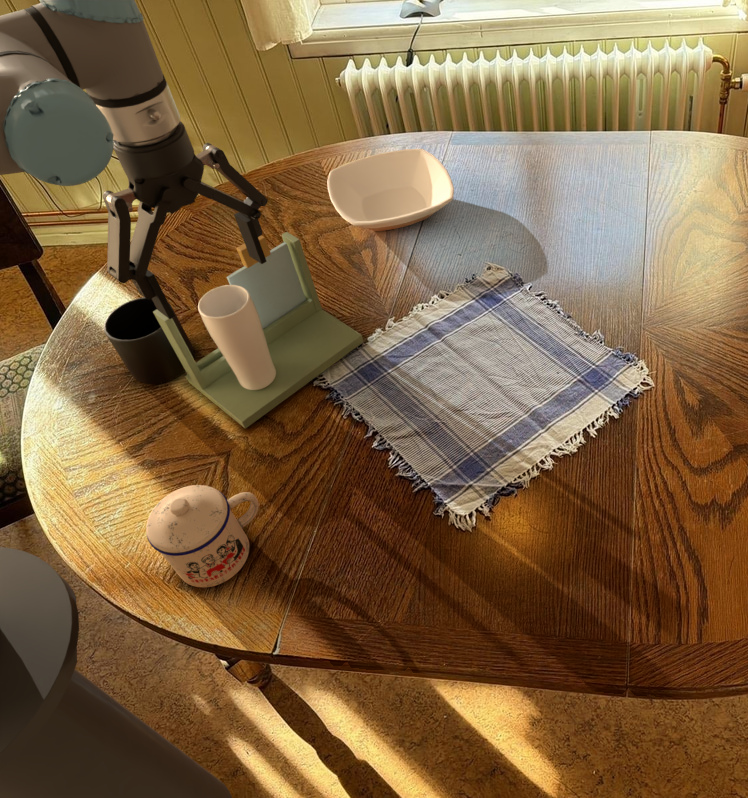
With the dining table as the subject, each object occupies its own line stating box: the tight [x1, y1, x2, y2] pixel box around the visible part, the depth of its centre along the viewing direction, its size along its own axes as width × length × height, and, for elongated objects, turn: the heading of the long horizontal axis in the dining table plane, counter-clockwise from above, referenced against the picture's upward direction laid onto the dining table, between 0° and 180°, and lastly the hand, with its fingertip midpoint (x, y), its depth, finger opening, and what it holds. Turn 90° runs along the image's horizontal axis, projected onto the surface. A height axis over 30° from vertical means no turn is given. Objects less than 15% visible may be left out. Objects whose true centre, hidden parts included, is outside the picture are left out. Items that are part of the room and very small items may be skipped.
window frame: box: [153, 231, 364, 429], centre depth 107 cm, size 22×14×15 cm, turn 140°
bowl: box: [326, 148, 455, 232], centre depth 136 cm, size 22×22×5 cm
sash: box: [226, 234, 306, 329], centre depth 109 cm, size 10×1×16 cm, turn 140°
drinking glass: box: [197, 284, 276, 390], centre depth 103 cm, size 7×7×15 cm
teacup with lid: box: [145, 484, 260, 588], centre depth 87 cm, size 12×9×12 cm
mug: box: [103, 296, 196, 385], centre depth 110 cm, size 9×12×9 cm
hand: (214, 285), depth 95 cm, fingers open, 13 cm apart
